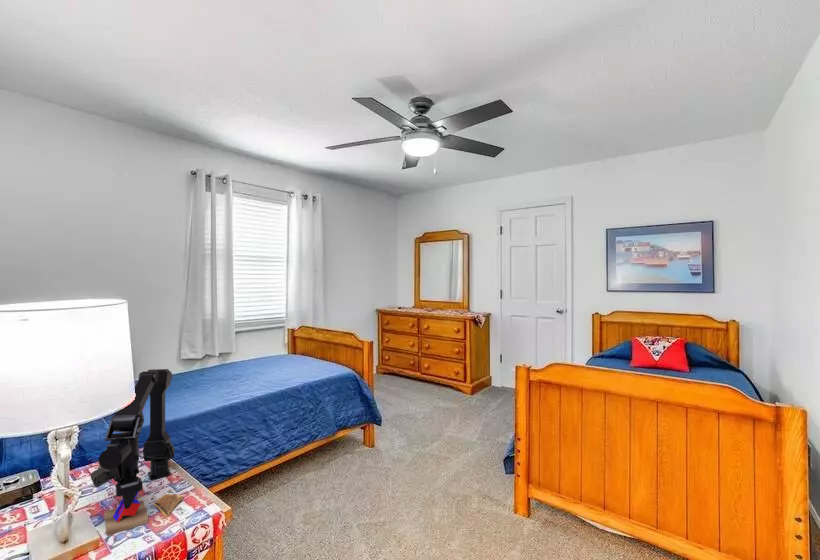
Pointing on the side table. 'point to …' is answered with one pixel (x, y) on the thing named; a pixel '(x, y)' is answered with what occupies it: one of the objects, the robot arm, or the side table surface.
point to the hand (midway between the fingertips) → (126, 503)
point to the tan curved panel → (125, 520)
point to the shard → (168, 503)
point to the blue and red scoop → (128, 511)
